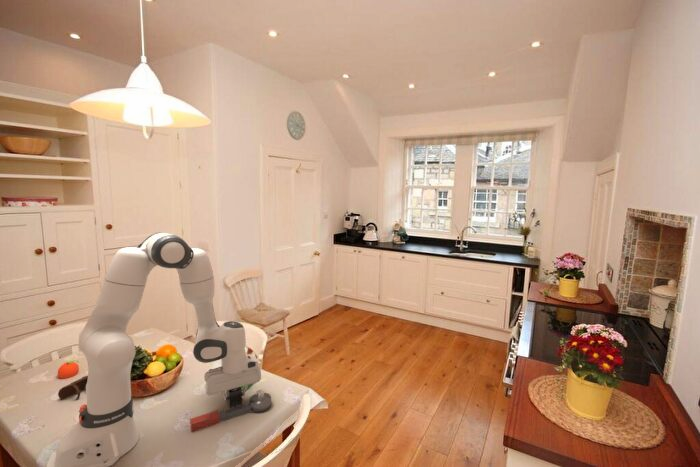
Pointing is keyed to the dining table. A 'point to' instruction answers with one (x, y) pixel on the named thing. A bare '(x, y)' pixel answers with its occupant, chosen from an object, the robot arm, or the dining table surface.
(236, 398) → the socket
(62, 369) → the orange tomato
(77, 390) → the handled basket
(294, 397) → the dining table surface
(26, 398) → the dining table surface
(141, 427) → the dining table surface
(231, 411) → the ratchet
